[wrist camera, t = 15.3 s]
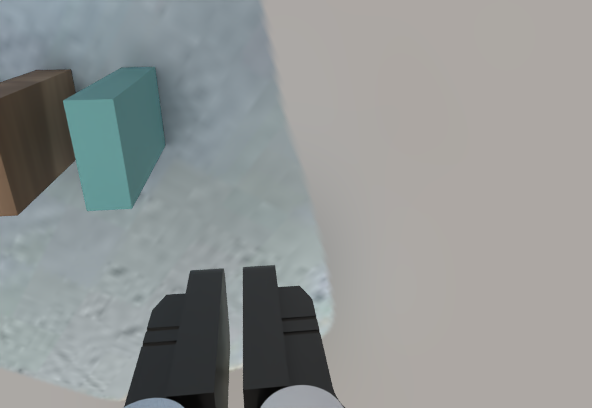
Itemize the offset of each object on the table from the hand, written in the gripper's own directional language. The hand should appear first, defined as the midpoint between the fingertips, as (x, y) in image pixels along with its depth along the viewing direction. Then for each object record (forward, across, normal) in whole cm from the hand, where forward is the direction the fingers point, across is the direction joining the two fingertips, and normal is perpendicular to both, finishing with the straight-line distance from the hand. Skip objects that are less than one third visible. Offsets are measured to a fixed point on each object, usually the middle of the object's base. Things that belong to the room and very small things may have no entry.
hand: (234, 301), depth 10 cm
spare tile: (+21, +6, 0) cm, 22 cm away
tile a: (+21, +11, 0) cm, 24 cm away
